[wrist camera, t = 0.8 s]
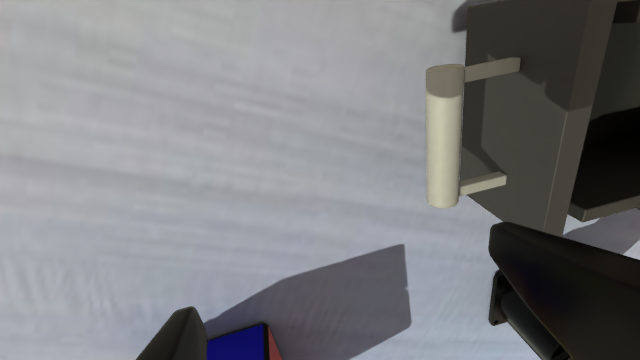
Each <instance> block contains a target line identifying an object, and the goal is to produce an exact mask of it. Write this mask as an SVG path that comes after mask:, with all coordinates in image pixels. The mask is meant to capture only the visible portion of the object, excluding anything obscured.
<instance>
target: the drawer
mask: <svg viewBox="0 0 640 360" xmlns="http://www.w3.org/2000/svg"><path fill="white" fill-rule="evenodd" d="M463 88H464V103H463ZM462 110H463V125H462ZM461 132H462V147H461ZM426 148H427V202H428V203H429V204H430V205H431V206H434V207H437V208H450V207H453V206H455V205H456V204H457V203H458V198H459V196H463V195H467V196H469V197H470V198H471V199H473V200H474V201H476V202H477V203H478V204H480V205H481V206H482V207H484V208H485V209H487V210H488V211H489V212H491V213H492V214H494V215H495V216H496V217H498V218H499V219H500V220H502V221H503V222H512V223H515V224H519V225H522V226H525V227H529V228H532V229H536V230H539V231H542V232H546V233H549V234H553V235H556V236H559V237H562V234H563V230H564V226H565V222H566V217H567V214H568V215H570V216H572V217H574V218H576V219H577V220H579V221H581V222H586V221H590V220H593V219H597V218H601V217H604V216H608V215H611V214H615V213H619V212H622V211H626V210H630V209H633V208H637V207H640V0H504V1H498V2H492V3H486V4H480V5H475V6H470V7H468V16H467V38H466V60H465V67H464V65H461V64H449V65H440V66H435V67H431V68H429V69H427V70H426ZM460 154H461V168H460ZM459 176H460V181H459Z"/></svg>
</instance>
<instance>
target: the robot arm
mask: <svg viewBox="0 0 640 360" xmlns="http://www.w3.org/2000/svg"><path fill="white" fill-rule="evenodd" d="M489 253H490V256H491V257H492V259H493V260H494V262H495V263H496V264H497V266H498V267H499V269H500V270H501V271H502V272H499V273H497V274H496V275H495V276H494V278H493V287H492V295H491V303H490V312H489V322H490V323H491V325H493V326H495V325H499V324H502V323H505V322H508V323H509V324H510V325H511V326H512V328H513V329H514V330H515V331H516V332H517V333H518V334H519V335H520V336H521V338H522V339H523V340H524V341H525V342H526V343H527V344H528V345H529V346H530V348H531V349H532V350H533V351H534V352H535V353H536V354H537V355H538V356H539V358H540V359H541V360H640V260H638V259H634V258H631V257H627V256H624V255H621V254H617V253H614V252H610V251H607V250H604V249H600V248H597V247H593V246H590V245H587V244H583V243H580V242H576V241H573V240H570V239H566V238H563V237H559V236H556V235H553V234H549V233H546V232H542V231H539V230H536V229H532V228H529V227H525V226H522V225H519V224H515V223H512V222H501V223H498V224H494V225H493V226H492V227H491V229H490V238H489ZM136 360H207V333H206V329H205V326H204V324H203V322H202V320H201V318H200V316H199V314H198V312H197V310H196V309H195V308H194V307H192V306H191V307H187V308H183V309H179V310H177V311H175V312H174V313H173V314H172V316H171V317H170V318H169V319H168V321H167V322H166V323H165V324H164V326H163V327H162V328H161V329H160V330H159V332H158V333H157V334H156V335H155V337H154V338H153V339H152V340H151V342H150V343H149V344H148V345H147V346H146V348H145V349H144V350H143V351H142V353H141V354H140V355H139V356H138V358H137V359H136Z"/></svg>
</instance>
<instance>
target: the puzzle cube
mask: <svg viewBox="0 0 640 360" xmlns="http://www.w3.org/2000/svg"><path fill="white" fill-rule="evenodd" d="M207 360H282V357H281V355H280V353H279V350H278V348H277V345H276V343H275V341H274V338H273V336H272V333H271V331H270V329H269V326H268V325H266V324H261V325H257V326H254V327H251V328H248V329H245V330H241V331H238V332H235V333H232V334H228V335H225V336H222V337H219V338H216V339H212V340H209V341H208V342H207Z"/></svg>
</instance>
